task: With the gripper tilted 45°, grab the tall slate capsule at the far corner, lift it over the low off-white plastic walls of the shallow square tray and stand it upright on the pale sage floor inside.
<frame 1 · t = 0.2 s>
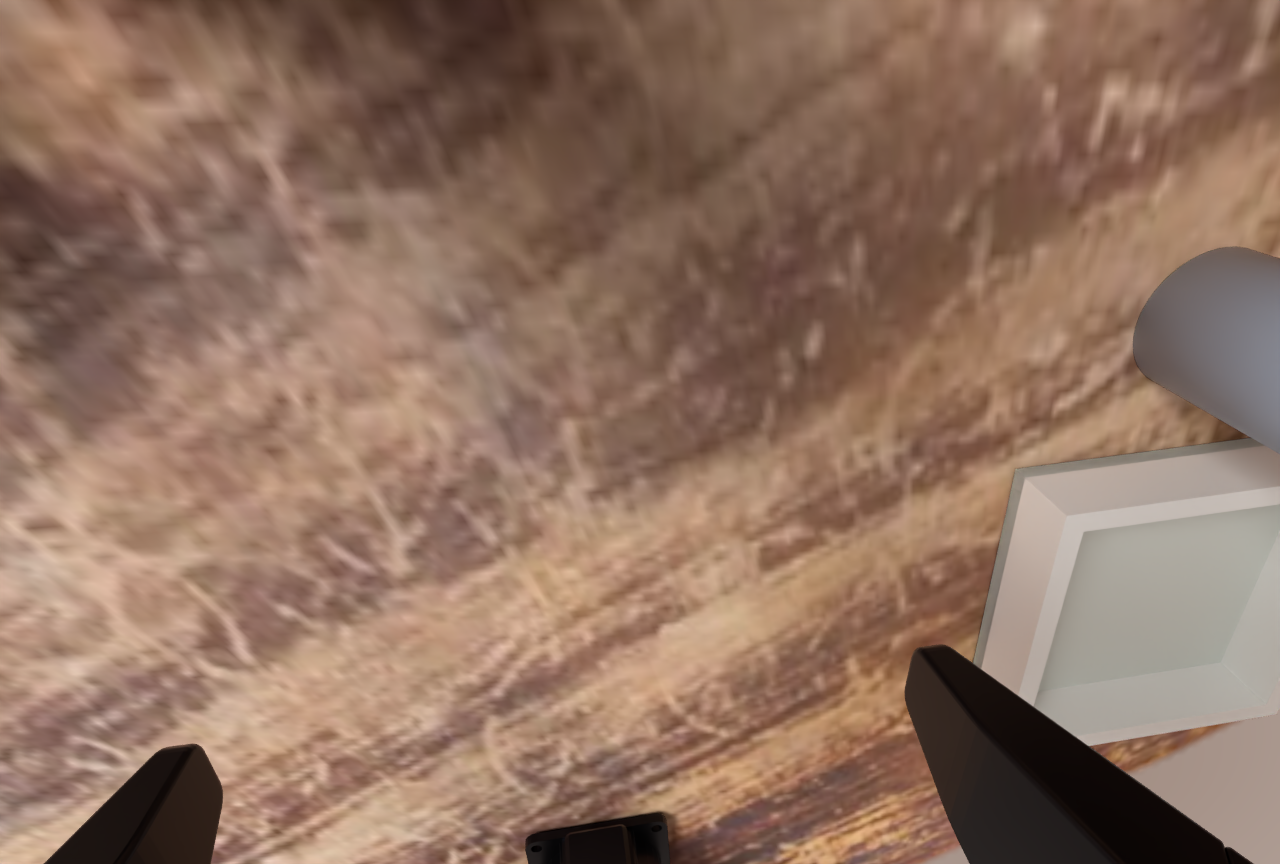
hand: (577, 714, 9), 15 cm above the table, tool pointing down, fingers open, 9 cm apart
slate capsule: (1203, 319, 26), on the table
shallow square tray: (1129, 577, 31), on the table
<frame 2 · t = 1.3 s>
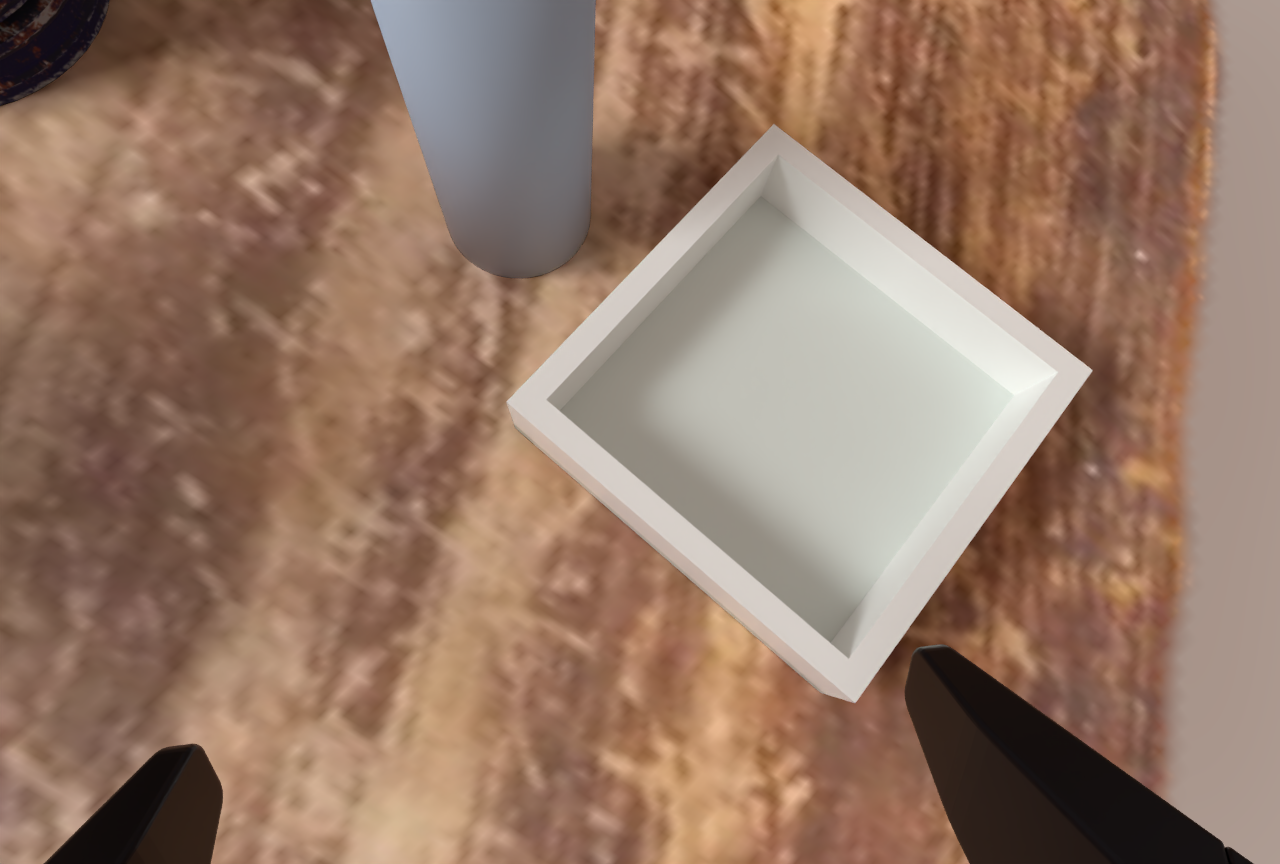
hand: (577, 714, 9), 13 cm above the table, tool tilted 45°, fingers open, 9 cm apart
slate capsule: (518, 212, 26), on the table
shallow square tray: (783, 412, 25), on the table
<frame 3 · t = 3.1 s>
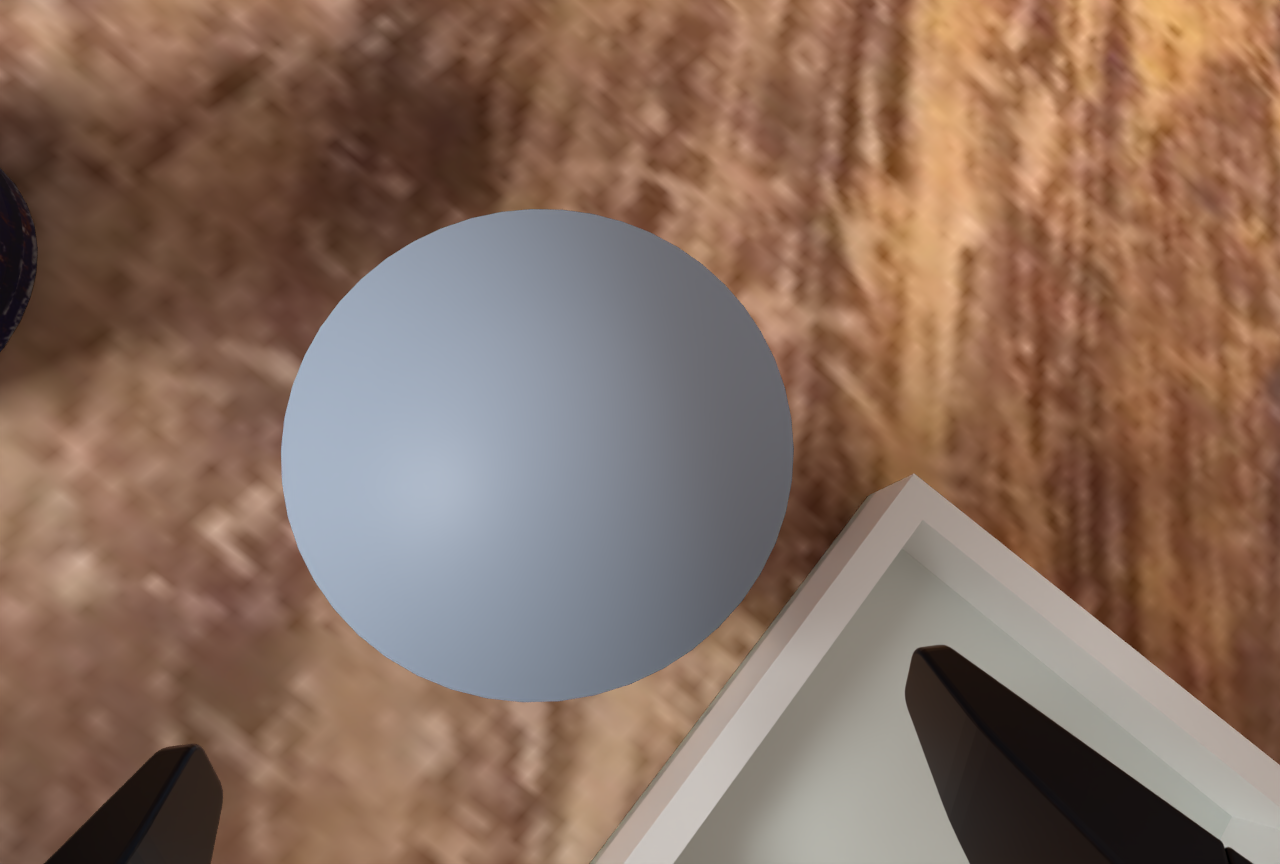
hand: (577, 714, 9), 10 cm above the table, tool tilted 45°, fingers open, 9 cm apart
slate capsule: (567, 560, 20), on the table
shallow square tray: (926, 845, 19), on the table
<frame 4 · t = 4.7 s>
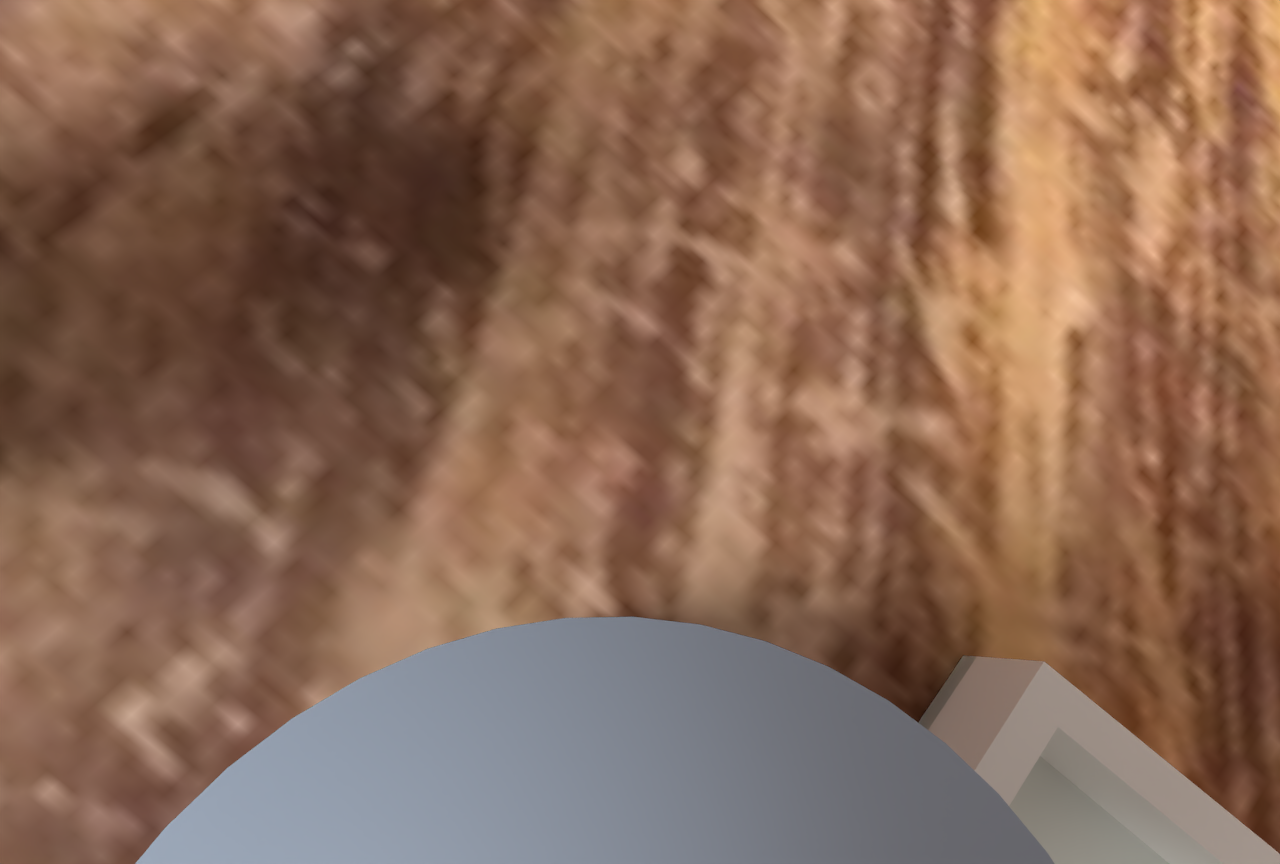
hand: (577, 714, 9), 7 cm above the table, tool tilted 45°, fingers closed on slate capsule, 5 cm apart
slate capsule: (584, 748, 15), on the table, touching gripper
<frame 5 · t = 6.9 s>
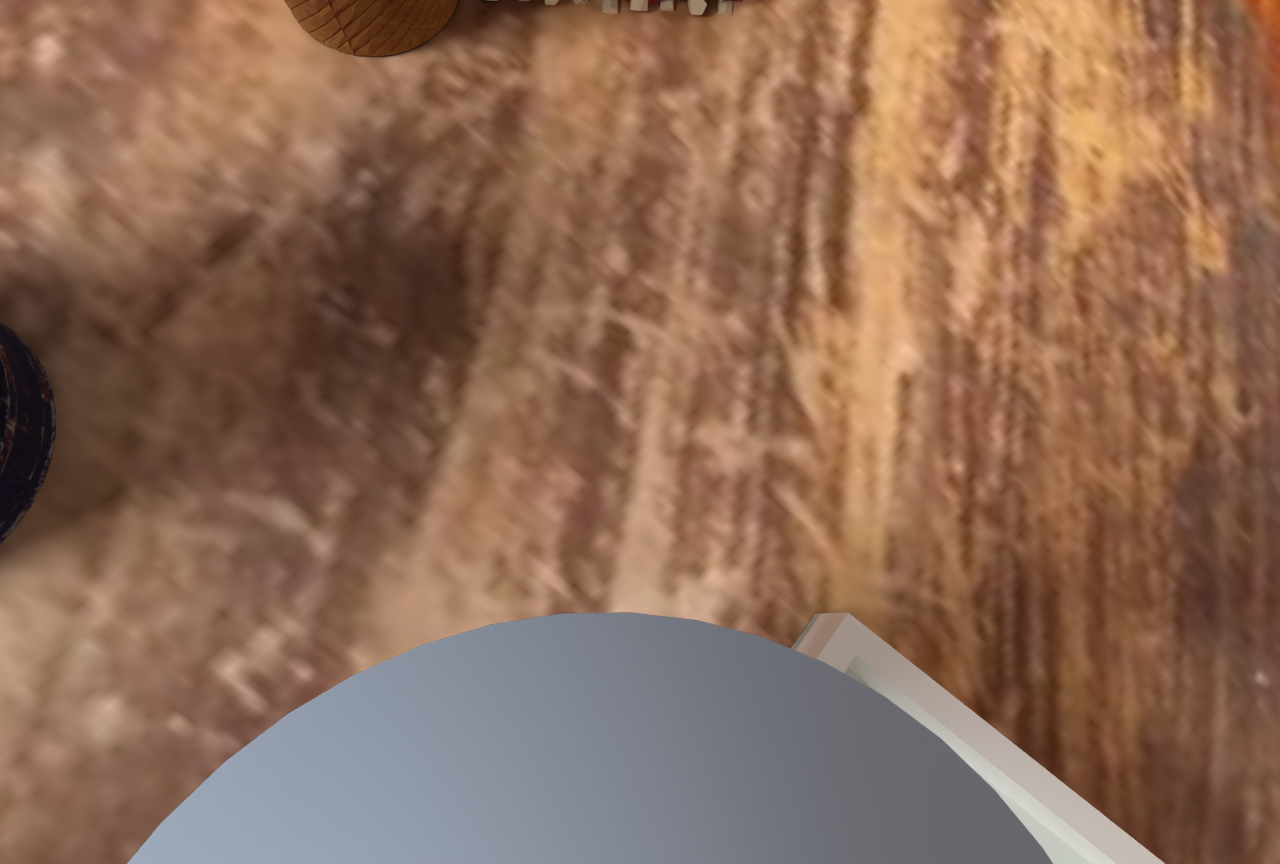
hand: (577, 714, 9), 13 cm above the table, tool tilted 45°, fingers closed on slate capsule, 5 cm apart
slate capsule: (584, 747, 15), point 7 cm above the table, touching gripper
when the fingers open (8 cm above the table, at t = 9.3 s): slate capsule drops 1 cm, resting on shallow square tray.
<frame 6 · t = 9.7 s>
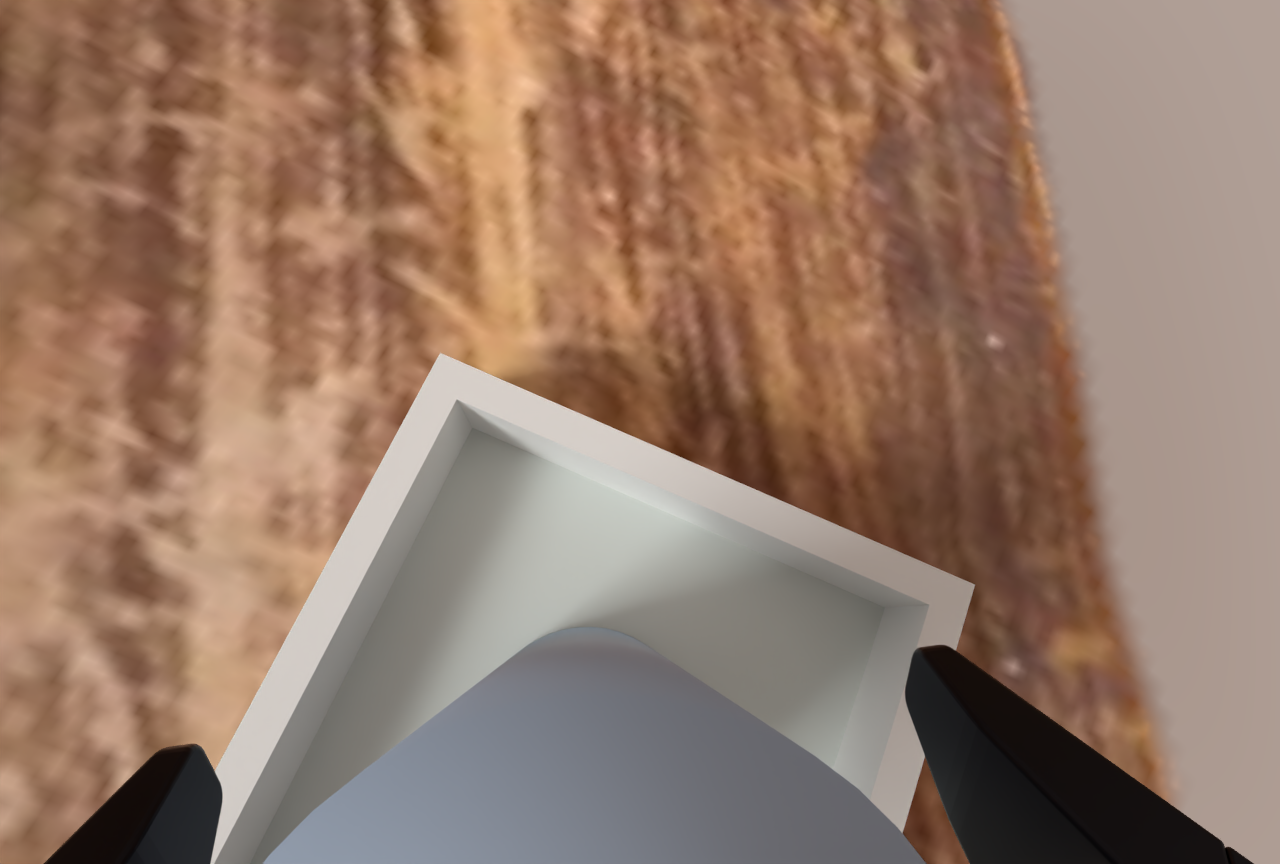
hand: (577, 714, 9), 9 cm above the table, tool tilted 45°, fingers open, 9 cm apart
slate capsule: (585, 741, 17), point 1 cm above the table, touching shallow square tray
shallow square tray: (584, 735, 17), on the table
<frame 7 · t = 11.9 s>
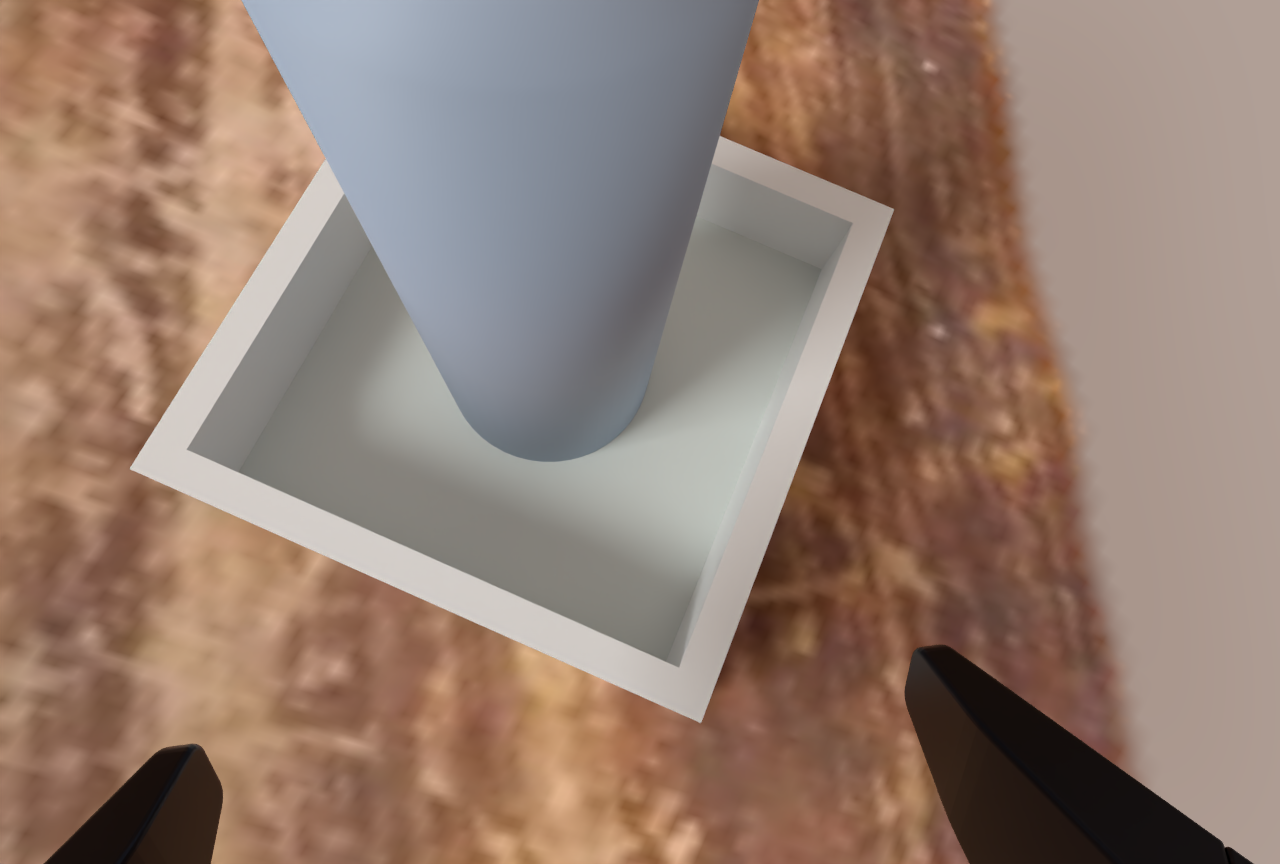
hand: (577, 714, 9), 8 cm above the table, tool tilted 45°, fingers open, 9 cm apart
slate capsule: (550, 365, 19), point 1 cm above the table, touching shallow square tray
shallow square tray: (550, 371, 19), on the table
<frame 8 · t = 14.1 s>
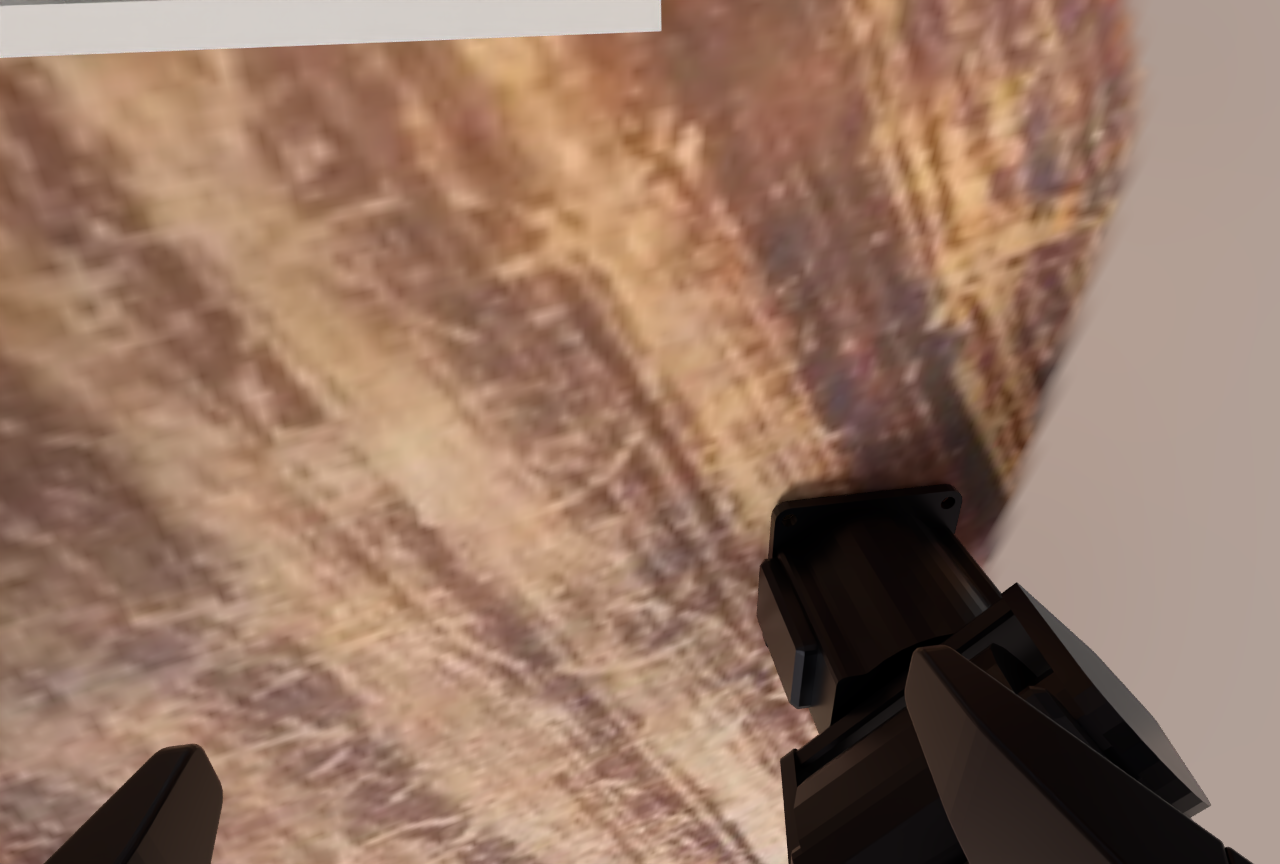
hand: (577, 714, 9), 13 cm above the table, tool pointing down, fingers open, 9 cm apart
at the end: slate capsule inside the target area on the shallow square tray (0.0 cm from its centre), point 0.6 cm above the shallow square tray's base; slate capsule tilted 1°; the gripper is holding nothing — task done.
